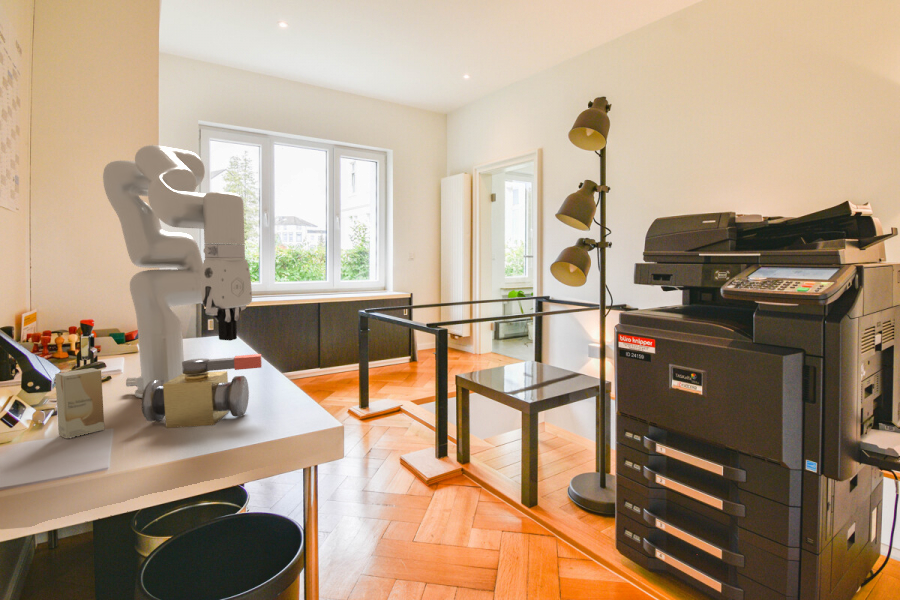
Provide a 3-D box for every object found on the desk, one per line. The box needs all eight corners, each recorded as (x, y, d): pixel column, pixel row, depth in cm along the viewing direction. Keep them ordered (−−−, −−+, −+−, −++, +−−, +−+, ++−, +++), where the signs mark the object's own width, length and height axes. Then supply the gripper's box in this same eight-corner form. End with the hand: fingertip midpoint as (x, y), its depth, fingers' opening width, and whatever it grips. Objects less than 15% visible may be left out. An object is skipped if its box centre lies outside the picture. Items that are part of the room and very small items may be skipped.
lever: (180, 376, 90) (179, 363, 90) (185, 370, 95) (184, 359, 95) (261, 368, 96) (260, 357, 96) (261, 363, 100) (261, 353, 100)
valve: (142, 429, 89) (138, 381, 88) (165, 414, 98) (161, 371, 97) (236, 423, 91) (233, 377, 90) (250, 409, 100) (247, 367, 99)
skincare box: (66, 440, 84) (61, 376, 83) (58, 435, 86) (52, 373, 85) (107, 429, 89) (102, 369, 88) (97, 425, 92) (92, 366, 91)
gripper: (213, 253, 85) (217, 347, 87) (263, 253, 100) (265, 334, 102) (181, 252, 87) (185, 345, 89) (234, 252, 101) (237, 332, 103)
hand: (227, 339), depth 95 cm, fingers closed
